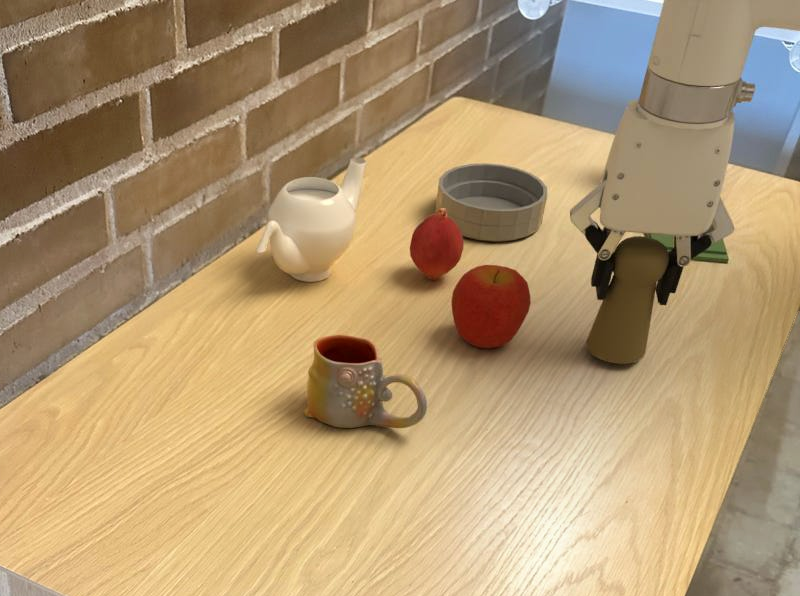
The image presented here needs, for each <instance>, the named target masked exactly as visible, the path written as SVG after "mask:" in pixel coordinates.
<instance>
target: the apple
mask: <svg viewBox="0 0 800 596" xmlns="http://www.w3.org/2000/svg"><path fill="white" fill-rule="evenodd" d="M450 303H451V313H452V318H453V322H454V326H455V328H456V331H457V333H458V335H459V336H460V337H461V338H462V339H463V340H465V341H466V342H467V343H469V344H470V345H472V346H474V347H476V348H480V349H493V348H498V347H502V346H504V345H506V344H507V343H509V342H511V341H512V340H513V338H514V337H515V336H516V335H517V333H518V332H519V330H520V328H521V327H522V325H523V323H524V322H525V320H526V317H527V316H528V314H529V312H530V308H531V294H530V289H529V283H528V281H527V280H526V279H525V278H524V276H523V275H522V274H520V272H518V271H517V270H516V269H513V268H510V267H508V266H502V265H497V264H483V265H479V266H475V267H474V268H471V269H469V270H468V271H467V272H465V273H464V274H463V275H462V276H461V278H460V279H459V280H458V282H457V283H456V285H455V287H454V289H453V291H452V296H451V302H450Z"/></svg>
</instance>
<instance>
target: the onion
mask: <svg viewBox="0 0 800 596" xmlns="http://www.w3.org/2000/svg"><path fill="white" fill-rule="evenodd" d="M463 237H464V236H462V234H461V232H460V230H459V228H458V226H457V224H456V223H455V222H454V221H453V220H452V219H450V218H449V217H448V216H447V213H446V209H445V208H440V209H439V211H437V212H434V213H433V214H430V215H429V216H427V217H426V218H425V219H423V220H422V221H421V222H420V223H419V224H418V225H416V227H415V229H414V231H413V233H412V235H411V240H410V243H409V255H410V258H411V260H412V262H413V264H414V265H415V266H416V268H417V269H418V270H419V271H420V272H421V273H422V274H424V275H425V276H427V278H428V279H430V280H434V281H435V280H438V279H439V278H441V277H443V276H444V275H446V274H448V273H449V272H451V270H453V269H454V268H455V267H456V266H457V265H458V263H459V262H460V261H461V258H462V255H463V252H464V238H463Z"/></svg>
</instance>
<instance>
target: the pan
mask: <svg viewBox="0 0 800 596" xmlns="http://www.w3.org/2000/svg"><path fill="white" fill-rule="evenodd" d="M547 198H548V187H547V186H546V184H545V182H543V180H542V179H541V178H539V177H537V176H536V175H535V174H532V172H528V171H526V170H523V169H522V168H518V167H514V166H511V165H505V164H498V163H485V162H484V163H483V162H481V163H467V164H463V165H459V166H455V167H452V168H451V169H448V170H446V171H444V173H443V174H441V176H439V178H438V185H437V193H436V203H435V212H437V211H439V209H440V208H445V209H446V213H447V216H448V217H449V218H450V219H452V220H453V221H454V222H455V223H456V224H457V226H458V228H459V230H460V232H461V234H462V237H465V238H467V239H472V240H476V241H480V242H481V241H482V242H491V243H493V242H495V243H496V242H497V243H498V242H511V241H515V240H520V239H522V238H527V237H528V236H530V235H533V234H534V233H536V232H537V231H538V230H539V228H540V227H541V225H542V224H543V218H544V213H545V209H546V204H547V201H548V199H547ZM435 212H434V213H435Z"/></svg>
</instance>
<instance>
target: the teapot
mask: <svg viewBox="0 0 800 596" xmlns="http://www.w3.org/2000/svg"><path fill="white" fill-rule="evenodd" d="M366 167H367V160H366V159H365V158H363V157H353V158H351V159H350V161H349V163H348V166H347V168H346V171H345V174H344V177H343V179H342V182H341V183H340V185H338V184H337V183H336V182H335V181H332V180H329V179H327V178H323V177H315V176H305V177H298V178H295V179H293V180H291V181H288V182H287V183H286V184H284V185H283V186H282V187H281V189H280V190H279V191H278V193H277V194H276V196H275V197H274V199H273V200H272V202H271V204H270V206H269V208H268V211H267V217H266V218H267V223H266V225H265V228H264V231H263V233H262V236H261V238H260V240H259V242H258V244H257V247H256V248H255V252H256V253H259V254H261V253H264V252H265V251H267V247H268V244H269V248H270V253H271V257H272V260H273V261H274V263H275V265H276V267H278V268H279V269H280V270H281V271H283V273H286V274H288V275H290V276H291V277H292V278H293V279H295V280H298V281H301V282H306V283H307V282H308V283H315V282H321V281H323V280H326V279H327V278H329V276H331V273H332V272H331V268H332V266H333V265H334V263H336V262H337V261H338V260H339V259H340V258H341V257H342V256H343V255H344V254H345V253H346V252H347V249H348V248H349V246H350V244H351V243H352V240H353V238H354V235H355V232H356V225H357V215H356V212H357V209H358V205H359V201H360V197H361V192H362V188H363V187H362V186H363V182H364V176H365V172H366Z"/></svg>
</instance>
